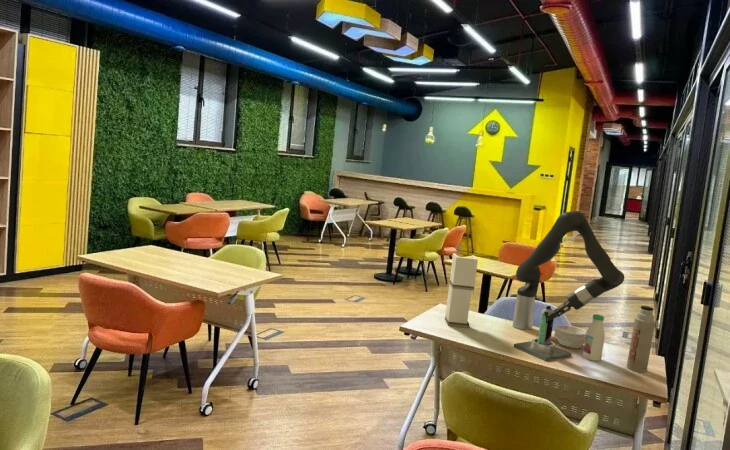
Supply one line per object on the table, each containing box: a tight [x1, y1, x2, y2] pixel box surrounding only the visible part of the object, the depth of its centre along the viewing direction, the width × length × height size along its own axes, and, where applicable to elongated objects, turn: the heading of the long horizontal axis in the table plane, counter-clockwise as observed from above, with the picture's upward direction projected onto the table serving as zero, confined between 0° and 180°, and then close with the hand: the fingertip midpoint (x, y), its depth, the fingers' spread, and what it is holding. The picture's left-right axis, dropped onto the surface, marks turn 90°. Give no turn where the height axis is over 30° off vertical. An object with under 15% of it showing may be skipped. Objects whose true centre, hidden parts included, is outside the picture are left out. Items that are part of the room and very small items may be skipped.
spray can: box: [537, 305, 555, 345], centre depth 250 cm, size 6×6×20 cm
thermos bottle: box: [626, 305, 656, 374], centre depth 239 cm, size 8×8×28 cm
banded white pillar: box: [444, 252, 479, 329], centre depth 280 cm, size 11×11×35 cm
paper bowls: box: [554, 324, 587, 349], centre depth 265 cm, size 15×15×8 cm
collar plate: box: [513, 337, 573, 362], centre depth 251 cm, size 18×18×4 cm
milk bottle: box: [582, 313, 606, 362], centre depth 248 cm, size 8×8×20 cm
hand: (549, 316), depth 249 cm, fingers open, 8 cm apart
